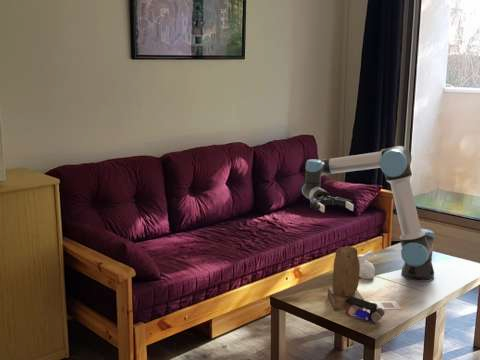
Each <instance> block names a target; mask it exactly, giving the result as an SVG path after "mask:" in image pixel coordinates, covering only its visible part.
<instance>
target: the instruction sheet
mask: <svg viewBox="0 0 480 360" xmlns="http://www.w3.org/2000/svg"><path fill="white" fill-rule="evenodd" d="M367 301H368V302H371V303H374V304H377V308H382V309H383V310H384V311H400V310H402V308H401V307H400V305H399V304H398V303H397V301H395V300H376V301H375V300H371V301H370V300H367ZM365 311H369V310H368V309H365Z"/></svg>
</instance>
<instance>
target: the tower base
mask: <svg viewBox="0 0 480 360" xmlns="http://www.w3.org/2000/svg"><path fill="white" fill-rule="evenodd" d="M351 296H352V297H355V298H358V299H362V300H364V298H363V296H362V295H361V293H360V292H359V290H358V289H357V290H356V292H355V293H354V294H352V295H351ZM351 296H348V297H343V296H339V295H337V294H335V293H334V292H333V286H331V287H330V286H328V287H327V300H328V302H329V304H330V305H331V307H332V309H333V311H334V312H346V311H345V309H346V307H347V306H348V305H349V304H350V303H347V302H345V300H347V299H348V298H349V297H351ZM355 306H356V305H355ZM356 307H357V308H358V309H361V310H364V308H362V307H359V306H356Z"/></svg>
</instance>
